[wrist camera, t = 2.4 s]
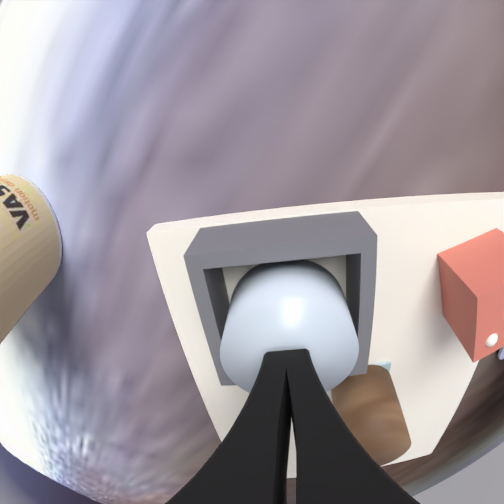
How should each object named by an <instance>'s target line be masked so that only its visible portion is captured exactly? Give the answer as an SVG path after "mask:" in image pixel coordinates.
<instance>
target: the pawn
mask: <svg viewBox="0 0 504 504" xmlns="http://www.w3.org/2000/svg"><path fill="white" fill-rule="evenodd" d="M331 396H332V403H333V405H334V407H335V409H336V410H337V412H338V413H339V415H340V417H341V418H342V420H343V421H344V423H345V424H346V426H347V427H348V429H349V430H350V431H351V433H352V434H353V435H354V437H355V438H356V439H357V441H358V442H359V443H360V444H361V446H362V447H363V448H364V449H365V451H366V452H367V453H368V454H369V455H370V457H371V458H372V459H373V460H374V461H375V462H376V463H377V464H378V465H379V466H382V465H385V464H387V463H390V462H392V461H394V460H396V459H398V458H399V457H401V456H402V455H403V454H405V453H406V452H407V451H408V449H409V448H410V446H411V439H410V435H409V432H408V428H407V425H406V422H405V418H404V415H403V412H402V409H401V405H400V402H399V399H398V396H397V393H396V390H395V387H394V384H393V381H392V378H391V375H390V373H389V371H388V370H387V369H385V368H384V367H382V366H378V365H368V368H367V373H366V374H360V375H353V376H347V377H346V378H345V379H344V380H343V381H342V382H341V383H340V384H339V385H337V386H336V387H334V388H333V389H331Z"/></svg>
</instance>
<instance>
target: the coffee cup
mask: <svg viewBox="0 0 504 504" xmlns="http://www.w3.org/2000/svg"><path fill="white" fill-rule="evenodd" d="M61 258H62V240H61V234H60V229H59V225H58V222H57V219H56V216H55V214H54V211H53V209H52V207H51V205H50V203H49V201H48V200H47V198H46V197H45V195H44V194H43V193H42V191H41V190H40V189H39V188H38V187H37V186H36V185H35V184H34V183H33V182H31V181H30V180H28V179H27V178H25V177H22V176H19V175H14V174H10V175H4V176H0V344H1V342H2V341H3V340H4V339H5V337H6V336H7V335H8V333H9V332H10V331H11V329H12V328H13V327H14V326H15V324H16V323H17V322H18V321H19V319H20V318H21V317H22V316H23V314H24V313H25V312H26V311H27V309H28V308H29V307H30V306H31V305H32V303H33V302H34V301H35V300H36V299H37V297H38V296H39V295H40V294H41V293H42V292H43V290H44V289H45V288H46V287H47V286H48V284H49V283H50V282H51V281H52V279H53V278H54V277H55V275H56V273H57V271H58V269H59V267H60V263H61Z"/></svg>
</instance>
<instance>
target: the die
mask: <svg viewBox="0 0 504 504" xmlns="http://www.w3.org/2000/svg"><path fill="white" fill-rule="evenodd" d="M437 257H438V265H439V274H440V284H441V297H442V313H443V316H444V318H445V319H446V321H447V322H448V324H449V325H450V327H451V328H452V330H453V331H454V333H455V334H456V336H457V338H458V339H459V341H460V342H461V344H462V346H463V347H464V349H465V350H466V352H467V354H468V355H469V357H470V359H471V360H472V362H473V363H474V362H476V361H478V360H480V359H482V358H483V357H485V356H487V355H489V354H491V353H493V352H495V351H496V350H498V349H500V348H502V347H504V233H503V232H502V231H501V230H499V229H498V228H495V229H493V230H490V231H488V232H486V233H484V234H482V235H479V236H477V237H475V238H473V239H470V240H468V241H466V242H463V243H461V244H459V245H456V246H454V247H452V248H449V249H447V250H445V251H442V252H440V253H437Z"/></svg>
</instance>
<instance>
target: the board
mask: <svg viewBox="0 0 504 504" xmlns="http://www.w3.org/2000/svg"><path fill="white" fill-rule="evenodd" d="M495 228H498V229H499V230H501V231H502V232H503V233H504V192H487V193H462V194H442V195H425V196H409V197H395V198H381V199H368V200H356V201H345V202H334V203H323V204H313V205H303V206H293V207H284V208H275V209H266V210H257V211H249V212H240V213H232V214H224V215H217V216H209V217H201V218H194V219H187V220H180V221H173V222H166V223H159V224H155V225H154V226H153V227H152V228H151V229H150V230H149V231H148V232H147V233H146V234H147V237H148V241H149V245H150V248H151V252H152V255H153V259H154V262H155V265H156V269H157V272H158V275H159V279H160V282H161V285H162V288H163V291H164V295H165V298H166V301H167V304H168V307H169V310H170V313H171V316H172V319H173V322H174V325H175V328H176V330H177V333H178V336H179V339H180V342H181V344H182V347H183V350H184V353H185V355H186V358H187V361H188V363H189V366H190V368H191V371H192V374H193V376H194V379H195V381H196V384H197V386H198V389H199V391H200V394H201V396H202V399H203V401H204V403H205V406H206V408H207V411H208V413H209V415H210V417H211V420H212V422H213V424H214V427H215V429H216V431H217V433H218V436H219V438H220V440H221V442H222V441H223V440H224V438H225V437H226V435H227V434H228V432H229V430H230V429H231V427H232V426H233V424H234V422H235V420H236V419H237V417H238V415H239V413H240V412H241V410H242V408H243V406H244V404H245V402H246V400H247V398H248V396H249V394H250V393H248V392H246V391H245V390H243V389H241V388H240V387H239V386H237V385H236V384H235V383H234V382H233V381H232V380H231V379H230V378H229V377H228V376H227V374H226V373H225V371H224V369H223V367H222V364H221V360H220V346H221V341H222V337H223V332H224V328H225V323H226V319H227V314H228V310H229V305H230V301H231V297H232V293H233V291H234V288H235V287H236V285H237V283H238V282H239V280H240V279H241V278H242V277H243V276H244V275H245V274H246V273H247V272H248V271H250V270H251V269H252V268H254V267H256V266H257V265H259V264H261V263H271V262H281V261H291V260H301V259H305V260H309V261H312V262H315V263H317V264H319V265H321V266H322V267H324V268H325V269H327V270H328V271H329V272H330V273H331V274H333V276H334V277H335V278H336V279H337V281H338V282H339V284H340V286H341V288H342V291H343V294H344V297H345V300H346V303H347V306H348V309H349V312H350V315H351V318H352V322H353V325H354V328H355V331H356V334H357V338H358V343H359V354H358V359H357V361H356V364H355V366H354V368H353V370H352V371H351V372H350V374H349V375H348V376H353V375H360V374H366V373H367V368H368V365H378V366H382V367H384V368H385V369H387V370H388V371H389V373H390V375H391V378H392V381H393V384H394V387H395V390H396V393H397V396H398V399H399V402H400V405H401V409H402V412H403V415H404V418H405V422H406V425H407V428H408V432H409V435H410V439H411V446H410V448H409V449H408V451H407V452H406V453H405V454H403V455H402V456H401V457H399V458H398V459H396V460H394V461H392V462H390V463H387V464H385V465H389V464H394V463H398V462H402V461H406V460H410V459H414V458H418V457H421V456H425V455H428V454H431V453H432V451H433V450H434V448H435V446H436V445H437V443H438V442H439V440H440V438H441V436H442V435H443V433H444V431H445V430H446V428H447V426H448V424H449V422H450V421H451V419H452V417H453V415H454V413H455V411H456V409H457V407H458V405H459V403H460V401H461V399H462V397H463V395H464V393H465V391H466V389H467V387H468V384H469V382H470V380H471V378H472V376H473V373H474V371H475V369H476V366H477V364H478V361H479V360H478V361H476V362H474V363H473V362H472V360H471V359H470V357H469V355H468V354H467V352H466V350H465V349H464V347H463V346H462V344H461V342H460V341H459V339H458V338H457V336H456V334H455V333H454V331H453V330H452V328H451V327H450V325H449V324H448V322H447V321H446V319H445V318H444V316H443V313H442V297H441V284H440V274H439V265H438V257H437V253H440V252H442V251H445V250H447V249H449V248H452V247H454V246H456V245H459V244H461V243H463V242H466V241H468V240H470V239H473V238H475V237H477V236H479V235H482V234H484V233H486V232H488V231H490V230H493V229H495ZM326 393H327V395H328V397H329V398H330V400H331V402H332V396H331V390H329V391H327V392H326ZM332 404H333V403H332ZM382 466H384V465H382ZM287 478H296V446H295V439H294V431H293V424H292V419H291V433H290V445H289V456H288V467H287Z"/></svg>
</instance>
